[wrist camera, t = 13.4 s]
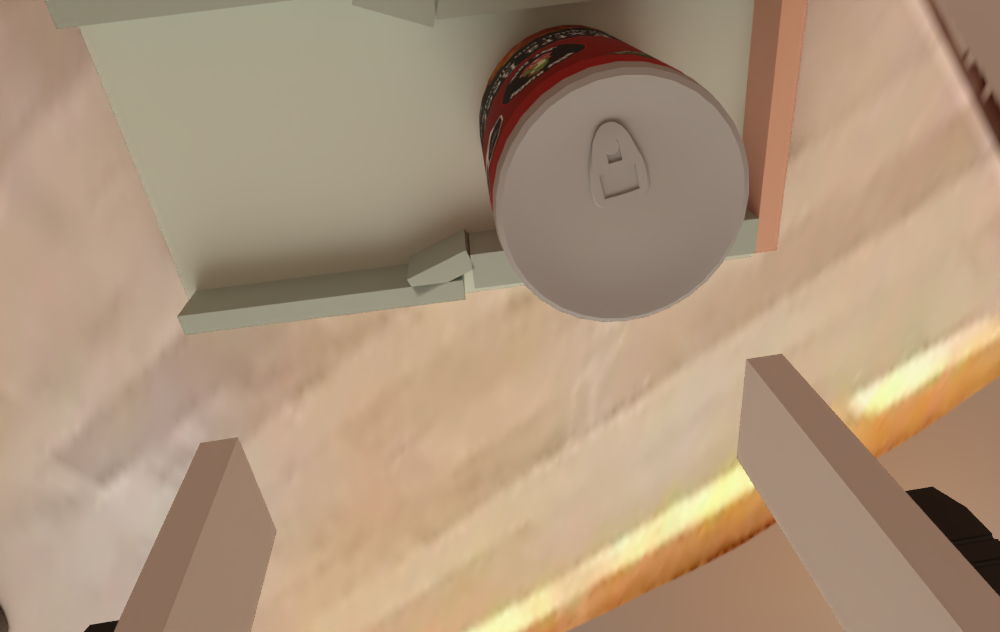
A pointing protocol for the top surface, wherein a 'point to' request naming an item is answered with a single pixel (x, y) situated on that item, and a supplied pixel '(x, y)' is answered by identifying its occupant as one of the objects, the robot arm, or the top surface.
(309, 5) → the grey miter box
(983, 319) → the top surface
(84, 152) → the top surface
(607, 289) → the canned food
